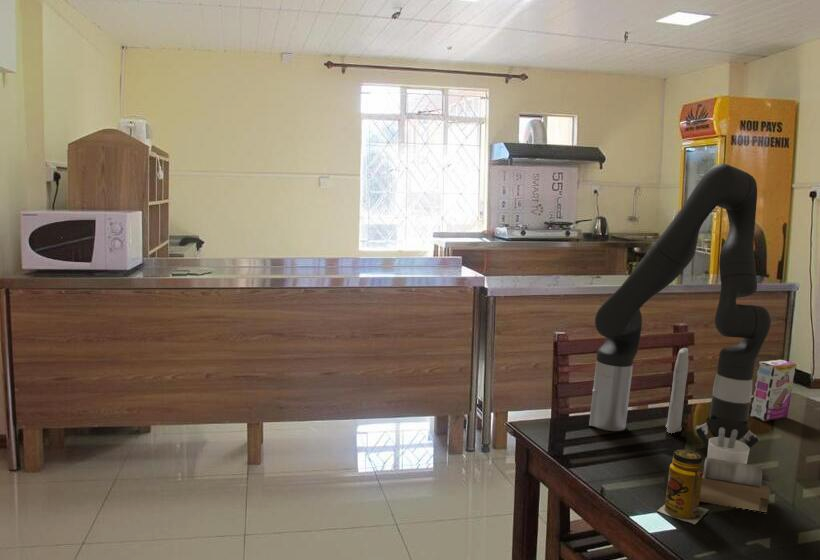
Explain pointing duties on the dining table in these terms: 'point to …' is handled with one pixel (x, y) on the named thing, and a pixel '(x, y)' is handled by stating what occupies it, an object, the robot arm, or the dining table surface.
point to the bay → (734, 485)
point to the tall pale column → (678, 392)
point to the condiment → (684, 487)
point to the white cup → (728, 451)
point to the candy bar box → (773, 390)
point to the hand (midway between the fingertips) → (720, 471)
